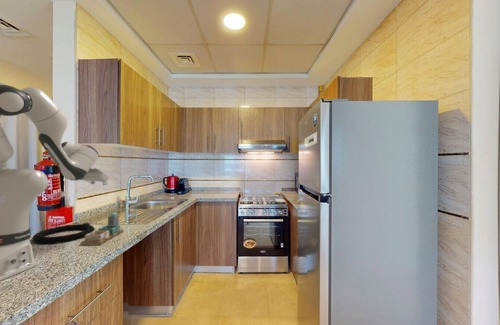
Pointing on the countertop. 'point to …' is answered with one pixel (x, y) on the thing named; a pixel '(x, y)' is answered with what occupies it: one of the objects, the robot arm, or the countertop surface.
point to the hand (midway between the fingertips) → (99, 183)
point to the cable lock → (59, 239)
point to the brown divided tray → (102, 235)
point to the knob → (113, 219)
